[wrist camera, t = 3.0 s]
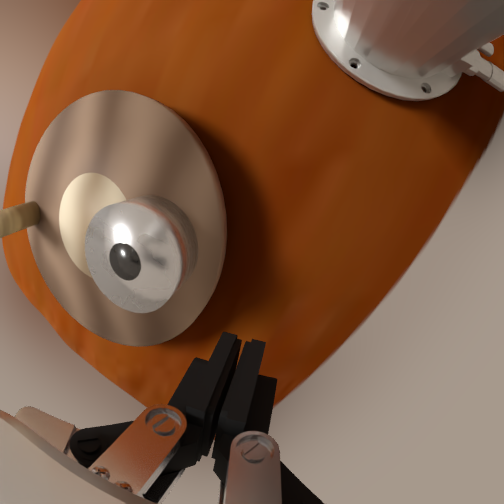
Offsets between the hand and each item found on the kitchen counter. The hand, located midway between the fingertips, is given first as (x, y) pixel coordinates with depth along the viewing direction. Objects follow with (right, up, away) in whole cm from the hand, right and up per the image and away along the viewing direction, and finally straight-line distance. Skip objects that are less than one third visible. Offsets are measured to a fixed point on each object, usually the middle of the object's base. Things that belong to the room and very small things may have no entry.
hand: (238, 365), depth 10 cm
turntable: (-12, +7, +10) cm, 17 cm away
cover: (-6, +5, +8) cm, 12 cm away
